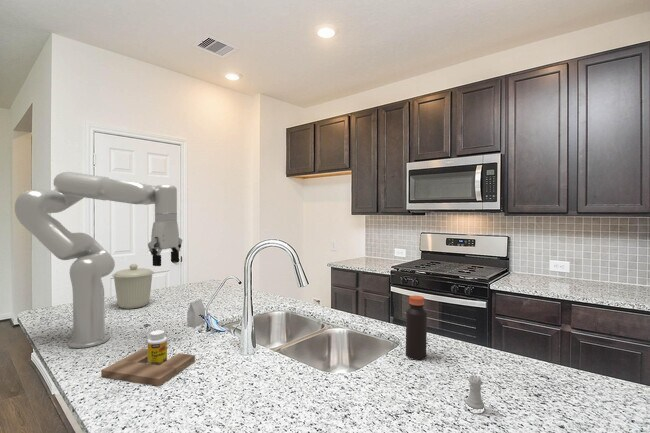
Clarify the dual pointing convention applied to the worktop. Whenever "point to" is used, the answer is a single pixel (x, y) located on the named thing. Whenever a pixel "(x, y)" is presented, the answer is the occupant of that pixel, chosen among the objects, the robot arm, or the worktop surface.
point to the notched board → (147, 368)
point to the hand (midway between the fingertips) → (166, 263)
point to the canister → (133, 286)
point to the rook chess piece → (475, 393)
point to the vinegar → (416, 328)
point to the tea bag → (195, 313)
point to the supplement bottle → (157, 348)
